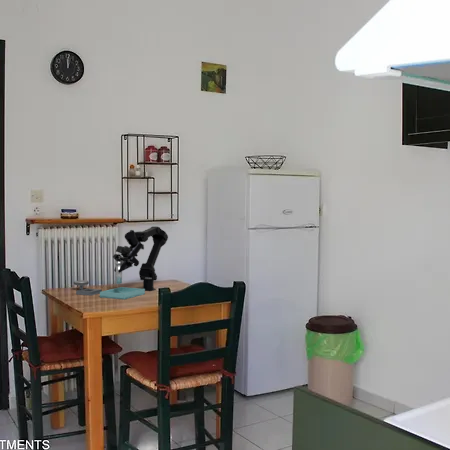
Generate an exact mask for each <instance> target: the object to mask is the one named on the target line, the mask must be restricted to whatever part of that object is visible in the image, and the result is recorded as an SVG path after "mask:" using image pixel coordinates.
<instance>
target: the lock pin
mask: <svg viewBox="0 0 450 450" xmlns="http://www.w3.org/2000/svg"><path fill="white" fill-rule="evenodd" d="M122 264H123V261H116V260H115V261H114V265H115V267H116V272H115V283H116V284H117V285H121V284H122V283H123V271H122V272H118V270H119V269H120V267H121V266H122Z"/></svg>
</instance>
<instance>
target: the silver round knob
mask: <svg viewBox="0 0 450 450" xmlns="http://www.w3.org/2000/svg"><path fill="white" fill-rule="evenodd" d="M89 284H90V281H89V280H84V279H83V280H82V279H80V280H74V281H73V285H74V286H79V290H82V289H84V286H88V285H89Z"/></svg>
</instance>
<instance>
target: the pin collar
mask: <svg viewBox="0 0 450 450" xmlns="http://www.w3.org/2000/svg"><path fill="white" fill-rule="evenodd" d="M101 291H103V290H102V289H100V288H99V289H98V288H83V289H82V290H80V289H78V290H76V291H75V295H80V296H94V295H95V296H96V295H98V294H99V295H100V292H101Z"/></svg>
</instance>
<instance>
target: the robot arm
mask: <svg viewBox="0 0 450 450" xmlns="http://www.w3.org/2000/svg"><path fill="white" fill-rule="evenodd" d="M149 238H152V242H153V245H152V248H151V250H150V252H149V255H148V257H147V259H146V262H145V263H144V262H143V263H142V264H141V266H140V268H139V271H138V274H139V281H143V283H142V285H143V287H142V289H145V292H153V291H157V289H156V288H154V283H155V281H157V279H158V275H157V273H156V269H155V266H156V265H155V264H156V262H157V259H158V256H159V254H160V251H161V248H162V247H163V246H165V245H166V244H167V241H168V240H169V235H168V234H167V232H166V231H165V230H163V229H162V228H161V227H159V226H151V227H149V228H147V229H145V230H142V231H141V230H140V231H134V229H130V230H129V231H128V232H126V233H125V234H124V239H125V240H126V242H127V244H128V245H130V246H127V245H124V246H120V245H117V246H116V249H115V252H117V253H114V254H113V255H112V258H113V259H114V260H115V261H123V264H122V266H121V267H120V269H119V270H118V272H122V273H123V271H125V270H128V269H129V268H132V267H133V266H134V267H138V266H139V264H140V260H138V258H137V257H138V253H139V252H140V251H141V250H145V245H144V244H143V243H146V242H147V241H148V240H149ZM118 253H119V254H118ZM114 273H116V266H114Z"/></svg>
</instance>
